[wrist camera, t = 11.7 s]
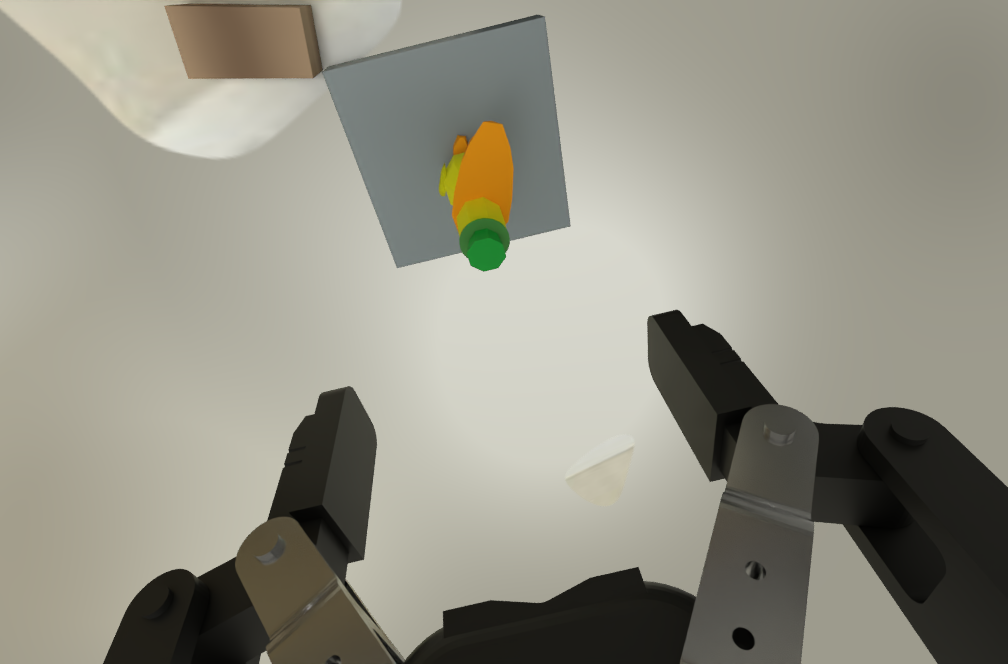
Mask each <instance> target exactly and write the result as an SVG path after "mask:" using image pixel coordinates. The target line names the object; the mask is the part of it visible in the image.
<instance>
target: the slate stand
mask: <svg viewBox="0 0 1008 664" xmlns="http://www.w3.org/2000/svg"><path fill="white" fill-rule="evenodd" d="M322 73H323V76H324V78H325V81H326V84H327V86H328V89H329V91H330V94H331V96H332V99H333V102H334V104H335V107H336V110H337V112H338V115H339V117H340V120H341V123H342V125H343V128H344V130H345V133H346V136H347V138H348V141H349V144H350V146H351V149H352V151H353V154H354V157H355V159H356V162H357V164H358V167H359V170H360V172H361V175H362V178H363V180H364V183H365V185H366V188H367V190H368V193H369V196H370V198H371V201H372V204H373V206H374V209H375V211H376V214H377V217H378V219H379V222H380V225H381V227H382V230H383V232H384V235H385V237H386V240H387V243H388V245H389V248H390V251H391V253H392V256H393V259H394V261H395V264H396V266H397V268H399V267H404V266H408V265H412V264H416V263H420V262H424V261H429V260H433V259H437V258H441V257H445V256H449V255H453V254H458V253H462V251H461V249H460V245H459V238H460V236H459V233H458V230H457V228H456V225H455V223H454V220H453V217H452V208H453V206H452V205H451V204H450V201H449V198H448V195H447V192H446V194H445V196H443V197H442V196H441V195H440V193H439V182H440V175H441V170H442V167H443V165H444V163H445V165H446V168H447V166H448V164H449V162H450V161H451V159H452V157H453V145H454V142H455V140H456V137H457V135H460V136H466V139H467V143H468V144H469V141H470V139H471V138H472V137H473V136H474V135H475V134H476V132H477V131H478V129H479V127H480V126H481V124H482V123H483V122H484V121H494V122H497V123H500V124H503V127H504V130H505V133H506V136H507V139H508V142H509V145H510V148H511V154H512V161H513V167H514V171H513V193H512V203H511V209H510V215H509V221H508V223H507V224H506V228H507V231H508V233H509V237H510V241H511V240H515V239H520V238H524V237H528V236H532V235H536V234H540V233H544V232H549V231H552V230H557V229H561V228H565V227H569V226H570V218H569V210H568V201H567V193H566V185H565V177H564V169H563V161H562V153H561V144H560V137H559V128H558V120H557V112H556V104H555V96H554V87H553V80H552V71H551V63H550V55H549V47H548V39H547V31H546V22H545V17H544V16H540V15H534V16H530V17H527V18H522V19H518V20H514V21H510V22H506V23H502V24H498V25H494V26H490V27H486V28H482V29H478V30H474V31H470V32H466V33H463V34H458V35H454V36H450V37H446V38H442V39H438V40H434V41H430V42H426V43H422V44H418V45H414V46H410V47H406V48H402V49H398V50H394V51H390V52H386V53H382V54H377V55H373V56H369V57H365V58H361V59H357V60H353V61H349V62H345V63H341V64H337V65H333V66H329V67H327V68H326V69H325V70H324V71H323V72H322Z"/></svg>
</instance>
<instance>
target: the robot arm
mask: <svg viewBox="0 0 1008 664" xmlns="http://www.w3.org/2000/svg"><path fill="white" fill-rule="evenodd" d="M647 326H648V362H649V368H650V372H651V375H652V378H653V380H654V382H655V384H656V386H657V388H658V390H659V391H660V393H661V395H662V397H663V398H664V400H665V402H666V404H667V406H668V407H669V409H670V411H671V413H672V415H673V416H674V418H675V420H676V422H677V423H678V425H679V427H680V429H681V431H682V433H683V434H684V436H685V438H686V440H687V442H688V443H689V445H690V447H691V449H692V450H693V452H694V454H695V456H696V458H697V459H698V461H699V463H700V465H701V467H702V468H703V470H704V472H705V474H706V475H707V477H708V479H709V481H710V482H711V481H716V480H720V479H724V478H725V479H726V481H727V485H726V488H725V492H723V494H722V497H721V501H720V505H719V509H718V513H717V517H716V521H715V525H714V529H713V533H712V537H711V541H710V545H709V549H708V553H707V557H706V561H705V565H704V568H703V573H702V577H701V581H700V585H699V588H698V592H697V596H696V597H695V596H694V595H692V594H690V593H688V592H685V591H683V590H681V589H679V588H676V587H672V586H669V585H666V584H661V583H656V582H646V581H643V579H642V576H641V573H640V570H639V568H638V567H636V568H632V569H628V570H623V571H619V572H615V573H610V574H605V575H601V576H596V577H593V578H589V579H587V580H585V581H583V582H582V583H580V584H578V585H576V586H574V587H572V588H571V589H569V590H567V591H565V592H563V593H561V594H559V595H558V596H556V597H554V598H552V599H550V600H548V601H546V602H543V603H527V602H510V601H492V600H490V601H486V602H482V603H477V604H473V605H468V606H464V607H460V608H455V609H451V610H446V611H443V628H441V629H439V630H438V631H436V632H435V633H433V634H432V635H430V636H429V637H428V638H426V639H425V640H424V641H423V642H422V643H421V644H420V645H418V646H417V647H416V648H415V650H414V651H413V652H412V653H411V654H410V655H409V656H408V657H407V659H406V660H405V659H404V658H403V656H402V655H401V654H400V652H399V651H398V650H397V649H396V647H395V646H394V645H393V644H392V642H391V641H390V640H389V638H388V637H387V636H386V634H385V633H384V632H383V630H382V629H381V627H380V626H379V624H378V623H377V622H376V620H375V619H374V617H373V616H372V615H371V613H370V612H369V610H368V609H367V608H366V606H365V605H364V603H363V602H362V601H361V599H360V598H359V596H358V595H357V594H356V592H355V591H354V589H353V588H352V587H351V585H350V584H349V582H348V581H347V580H346V579H345V578H346V571H347V564H348V563H351V562H355V561H360V560H364V554H365V545H366V536H367V527H368V518H369V510H370V501H371V492H372V483H373V475H374V465H375V457H376V448H377V439H376V433H375V429H374V426H373V424H372V422H371V420H370V418H369V416H368V414H367V413H366V411H365V409H364V407H363V405H362V404H361V402H360V400H359V398H358V396H357V394H356V392H355V391H354V389H353V388H352V387H350V386H348V387H344V388H340V389H336V390H331V391H327V392H323V393H321V394H320V396H319V399H318V403H317V407H316V411H315V414H313V415H309V416H306V417H305V418H304V419H303V421H302V422H301V423H300V425H299V426H298V428H297V429H296V430H295V432H294V433H293V437H292V440H291V444H290V447H289V453H288V454H287V457H286V460H285V463H284V465H285V467H284V468H283V470H282V473H281V477H280V480H279V483H278V487H277V490H276V493H275V497H274V500H273V503H272V507H271V510H270V513H269V517H268V520H267V521H266V522H265V523H263V524H261V525H260V526H258V527H257V528H256V529H255V530H253V531H252V532H251V534H249V535H248V537H247V538H246V539H245V540H244V542H243V543H242V545H241V547H240V548H239V550H238V553H237V556H236V557H235V558H233V559H231V560H229V561H228V562H226V563H224V564H222V565H220V566H218V567H216V568H214V569H212V570H210V571H209V572H207V573H205V574H203V575H201V576H199V577H196V576H194V575H193V574H192V573H191V572H189V571H187V570H184V569H176V570H171V571H169V572H166V573H164V574H162V575H160V576H158V577H157V578H155V579H153V580H152V581H151V582H150V583H148V584H147V585H146V586H145V587H144V588H143V589H142V590H141V591H140V592H139V593H138V594H137V595H136V596H135V598H134V599H133V600H132V602H131V603H130V605H129V606H128V608H127V610H126V612H125V614H124V617H123V619H122V621H121V623H120V626H119V628H118V630H117V633H116V635H115V637H114V640H113V642H112V644H111V647H110V649H109V651H108V653H107V656H106V658H105V661H104V663H103V664H259V661H260V656H261V653H263V652H265V651H267V654H268V656H269V658H270V661H271V662H272V664H801V656H802V646H803V636H804V626H805V616H806V605H807V595H808V586H809V576H810V565H811V555H812V544H813V534H814V522H825V523H836V524H843V525H844V527H845V528H846V530H847V531H848V533H849V534H850V536H851V537H852V539H853V540H854V541H855V543H856V544H857V546H858V547H859V549H860V550H861V552H862V553H863V555H864V556H865V558H866V559H867V561H868V562H869V564H870V565H871V566H872V568H873V569H874V571H875V572H876V574H877V575H878V577H879V578H880V580H881V581H882V582H883V584H884V586H885V587H886V589H887V590H888V591H889V593H890V594H891V596H892V597H893V599H894V600H895V601H896V603H897V605H898V606H899V607H900V609H901V611H902V612H903V613H904V615H905V616H906V618H907V619H908V621H909V622H910V624H911V625H912V627H913V628H914V630H915V631H916V633H917V634H918V635H919V637H920V638H921V640H922V641H923V643H924V644H925V646H926V647H927V649H928V650H929V652H930V653H931V654H932V656H933V657H934V659H935V660H936V662H937V663H938V664H1008V487H1007V486H1006V485H1004V483H1003V482H1002V481H1000V480H999V479H998V478H997V477H996V476H995V475H994V474H993V473H992V472H991V471H990V470H989V469H988V468H987V467H986V466H985V465H984V464H983V463H982V462H980V460H978V459H977V458H976V457H975V456H974V455H973V454H972V453H971V452H970V451H969V450H968V449H967V448H966V447H965V446H964V445H963V444H962V443H961V442H960V441H959V440H957V439H956V438H955V437H954V436H953V435H952V434H951V433H950V432H949V431H948V430H947V429H946V428H945V427H944V426H942V425H941V424H940V423H939V422H937V421H936V420H934V419H933V418H931V417H929V416H927V415H924V414H922V413H920V412H917V411H913V410H910V409H905V408H898V407H888V408H881V409H877V410H875V411H872V412H871V413H870V414H868V415H867V417H866V418H865V421H864V423H863V425H845V424H823V423H815V422H812V421H811V420H810V419H809V418H808V417H807V416H806V415H804V414H803V413H801V412H799V411H798V410H796V409H793V408H790V407H787V406H783V405H778V403H777V402H776V401H775V400H774V398H773V397H772V396H771V395H770V394H769V392H768V391H767V390H766V389H765V387H764V386H763V385H762V384H761V383H760V382H759V380H758V379H757V378H756V376H755V375H754V374H753V373H752V372H751V370H750V369H749V368H748V367H747V366H746V364H745V363H744V362H742V361H741V358H740V357H739V356H738V355H737V354H736V352H735V351H734V350H732V347H731V346H730V345H729V344H728V342H727V341H726V340H725V339H724V337H723V336H722V335H721V334H720V333H718V332H716V331H715V330H713V329H711V328H709V327H707V326H706V325H704V324H699V325H696V326H691V325H690V324H689V322H688V321H687V320H686V318H685V317H684V316H683V314H682V313H681V312H680V311H679V310H673V311H669V312H665V313H661V314H656V315H652V316H649V317H648V322H647Z"/></svg>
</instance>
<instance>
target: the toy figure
mask: <svg viewBox="0 0 1008 664" xmlns="http://www.w3.org/2000/svg"><path fill="white" fill-rule="evenodd" d="M513 171H514V167H513V161H512V154H511V148H510V145H509V142H508V139H507V136H506V133H505V130H504V127H503V124H500V123H497V122H494V121H484V122H483V123H482V124H481V126H480V127H479V129H478V131H477V132H476V134H475V135H474V136H473V137H472V138H471V139H470V141H469V144H468V143H467V139H466V136H460V135H457V137H456V140H455V142H454V145H453V157H452V159H451V161H450V162H449V164H448V166H447V168H446V165H445V163H444V165H443V167H442V170H441V175H440V182H439V193H440V195H441V196H442V197H443V196H445V194H446V192H447V195H448V198H449V201H450V204H451V205H452V206H453V208H452V217H453V220H454V223H455V225H456V228H457V230H458V233H459V236H460V238H459V245H460V249H461V251H462V253H463V254H464V255H465V256H466V257H467V258H468V259H469V262H470V265H471V266H473V267H475V268H477V269H479V270H481V271H488V270H492V269H496V268H498V267H499V266H500V265H501V263H502V262H503V260H504V259H505V258H506V255H505V253H506V251H507V250H508V247H509V244H510V237H509V233H508V231H507V228H506V224H507V223H508V221H509V215H510V209H511V203H512V193H513Z"/></svg>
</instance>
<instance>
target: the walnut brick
mask: <svg viewBox="0 0 1008 664" xmlns="http://www.w3.org/2000/svg"><path fill="white" fill-rule="evenodd" d="M165 9H166V12H167V15H168V18H169V21H170V24H171V27H172V30H173V33H174V36H175V39H176V42H177V45H178V48H179V51H180V54H181V57H182V60H183V63H184V66H185V69H186V72H187V75H188V79H210V78H314V77H315V76H316V75H317V74H319V73H320V72H321V71H322V70H323V69H322V64H321V58H320V53H319V47H318V42H317V36H316V31H315V25H314V20H313V15H312V9H311V5H243V4H181V5H169V6H165Z"/></svg>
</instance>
